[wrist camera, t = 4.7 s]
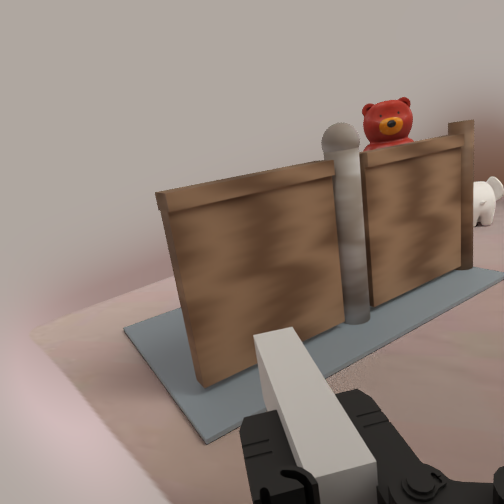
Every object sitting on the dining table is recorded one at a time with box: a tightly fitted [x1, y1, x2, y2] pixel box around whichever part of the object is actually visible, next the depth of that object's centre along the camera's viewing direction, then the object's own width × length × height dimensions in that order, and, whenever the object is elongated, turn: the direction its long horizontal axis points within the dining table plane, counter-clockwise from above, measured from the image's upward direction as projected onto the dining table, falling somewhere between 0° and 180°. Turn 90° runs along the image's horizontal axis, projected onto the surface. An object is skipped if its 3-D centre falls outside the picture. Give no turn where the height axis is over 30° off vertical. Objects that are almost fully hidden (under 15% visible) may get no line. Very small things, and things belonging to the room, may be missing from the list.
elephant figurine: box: [473, 177, 504, 227], centre depth 51 cm, size 7×8×6 cm
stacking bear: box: [362, 97, 414, 152], centre depth 56 cm, size 11×10×18 cm
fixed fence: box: [321, 120, 474, 325], centre depth 32 cm, size 17×3×15 cm, turn 122°
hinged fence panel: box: [155, 160, 345, 389], centre depth 25 cm, size 12×2×12 cm, turn 122°
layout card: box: [123, 267, 504, 444], centre depth 35 cm, size 30×18×1 cm, turn 122°
